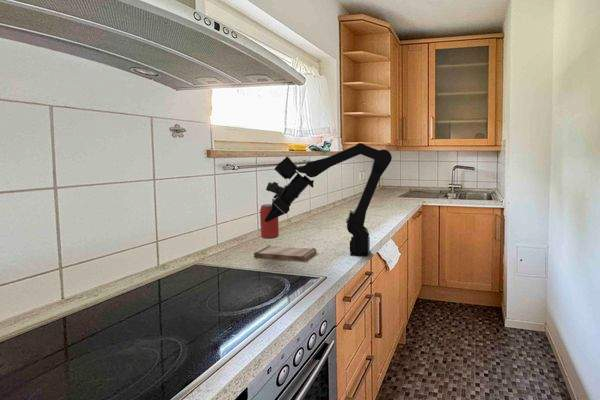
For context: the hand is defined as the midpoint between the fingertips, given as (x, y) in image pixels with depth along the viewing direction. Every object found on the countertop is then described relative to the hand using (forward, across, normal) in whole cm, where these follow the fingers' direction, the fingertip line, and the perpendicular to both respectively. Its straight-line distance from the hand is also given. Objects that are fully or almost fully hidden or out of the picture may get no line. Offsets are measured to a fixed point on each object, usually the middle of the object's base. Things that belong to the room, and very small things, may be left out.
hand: (265, 219), depth 154 cm
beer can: (+4, 0, +6) cm, 7 cm away
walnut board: (+5, +1, +14) cm, 15 cm away
